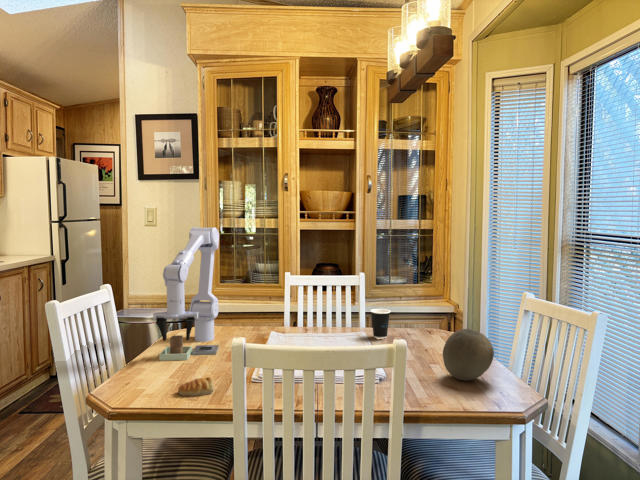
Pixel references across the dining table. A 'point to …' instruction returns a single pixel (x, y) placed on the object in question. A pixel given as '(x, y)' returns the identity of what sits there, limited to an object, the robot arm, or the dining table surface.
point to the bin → (165, 357)
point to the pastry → (197, 387)
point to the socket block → (205, 350)
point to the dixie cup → (380, 322)
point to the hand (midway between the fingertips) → (176, 339)
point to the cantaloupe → (467, 354)
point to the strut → (176, 344)
